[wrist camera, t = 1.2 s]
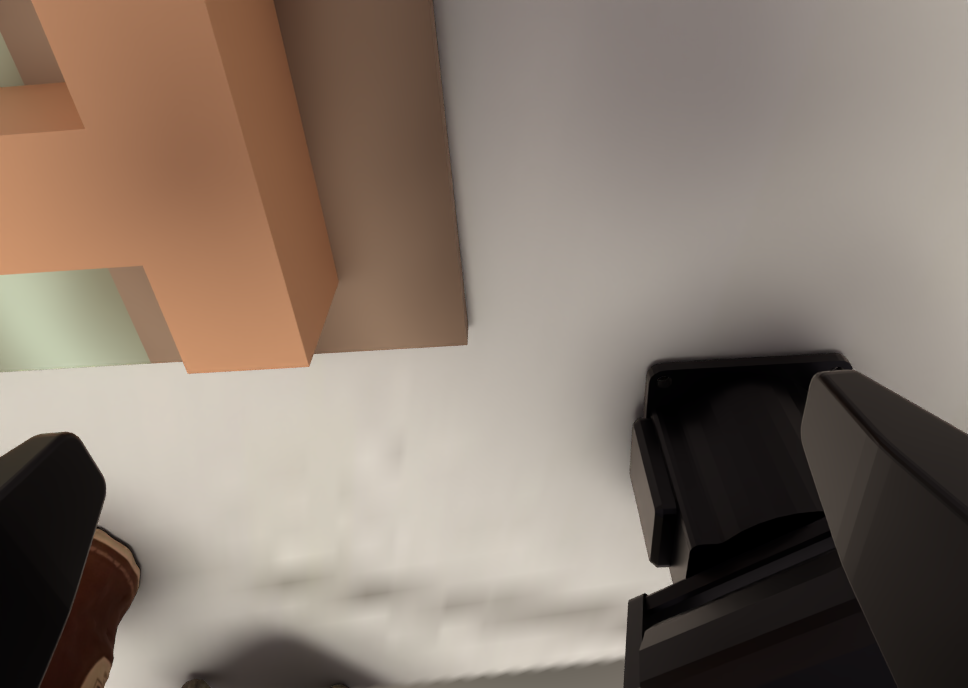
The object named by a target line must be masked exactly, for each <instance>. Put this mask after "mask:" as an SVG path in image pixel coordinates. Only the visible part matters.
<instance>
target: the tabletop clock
mask: <svg viewBox="0 0 968 688" xmlns="http://www.w3.org/2000/svg"><path fill="white" fill-rule="evenodd" d="M182 688H210V686H209V685H208V684H207V683H206V682H205V681H204V680H199V679H194V680H191V681H188V682H186V683H185V684H184V685H183V686H182ZM331 688H348V687H347V686H345V685H340V684H338V685H334V686H332V687H331Z"/></svg>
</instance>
